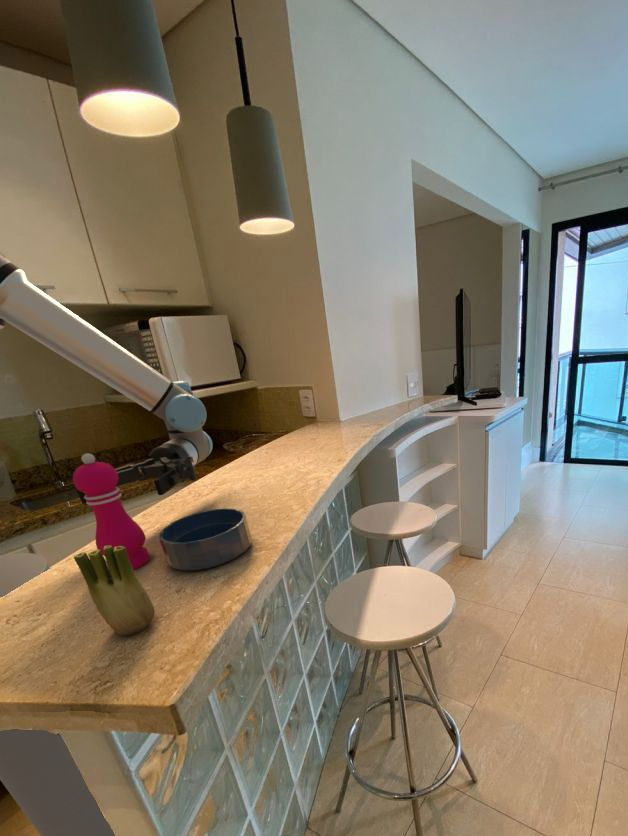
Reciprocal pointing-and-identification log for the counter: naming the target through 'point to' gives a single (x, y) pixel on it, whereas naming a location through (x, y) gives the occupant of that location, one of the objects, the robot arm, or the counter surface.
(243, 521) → the bowl
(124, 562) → the fennel bulb
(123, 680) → the counter surface
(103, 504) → the pepper mill
